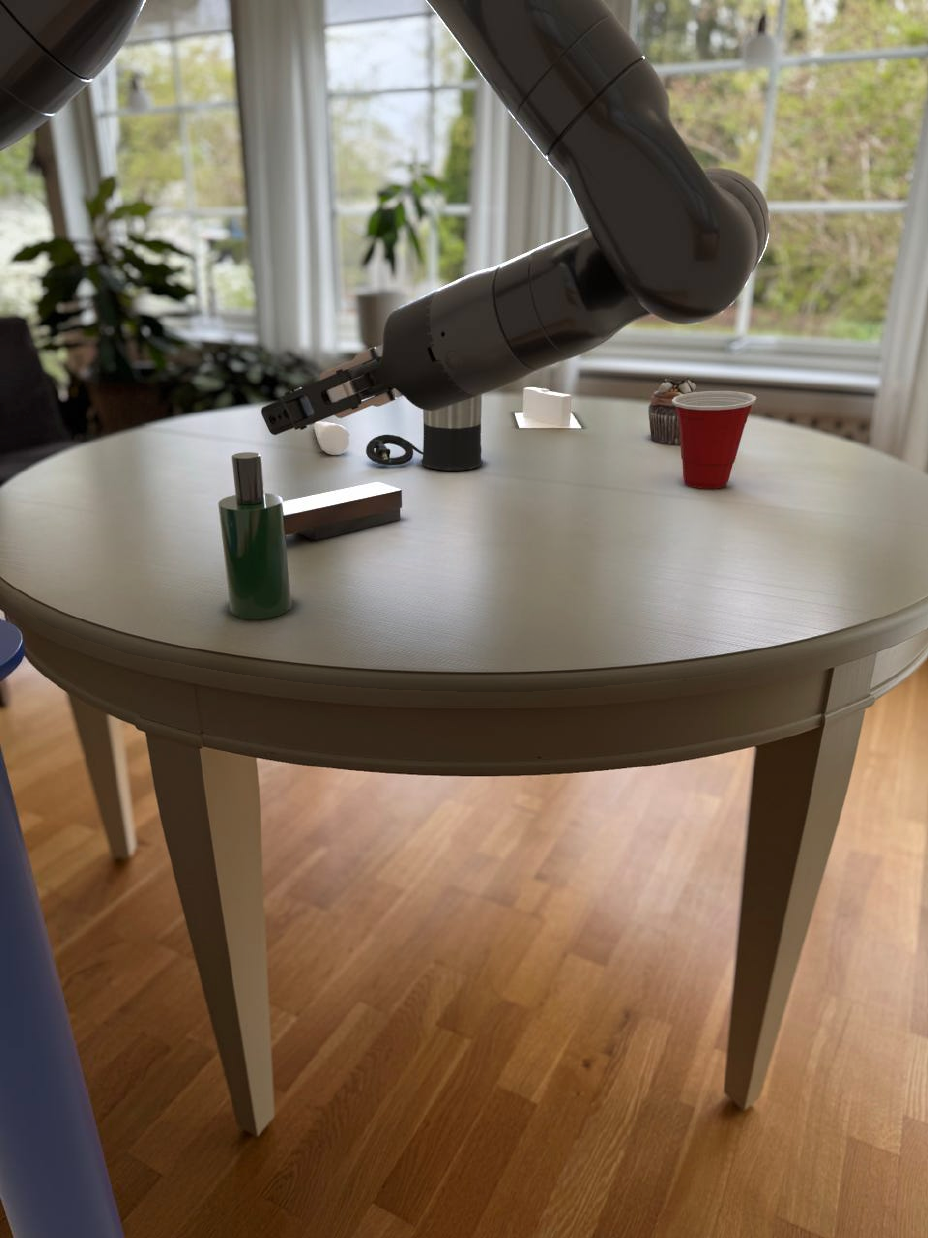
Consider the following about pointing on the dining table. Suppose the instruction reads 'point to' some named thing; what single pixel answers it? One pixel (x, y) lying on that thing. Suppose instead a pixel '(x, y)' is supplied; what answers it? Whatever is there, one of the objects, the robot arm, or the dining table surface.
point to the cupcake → (667, 410)
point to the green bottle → (254, 544)
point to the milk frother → (440, 439)
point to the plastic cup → (711, 434)
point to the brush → (342, 510)
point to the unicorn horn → (332, 437)
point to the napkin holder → (546, 410)
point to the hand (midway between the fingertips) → (302, 407)
